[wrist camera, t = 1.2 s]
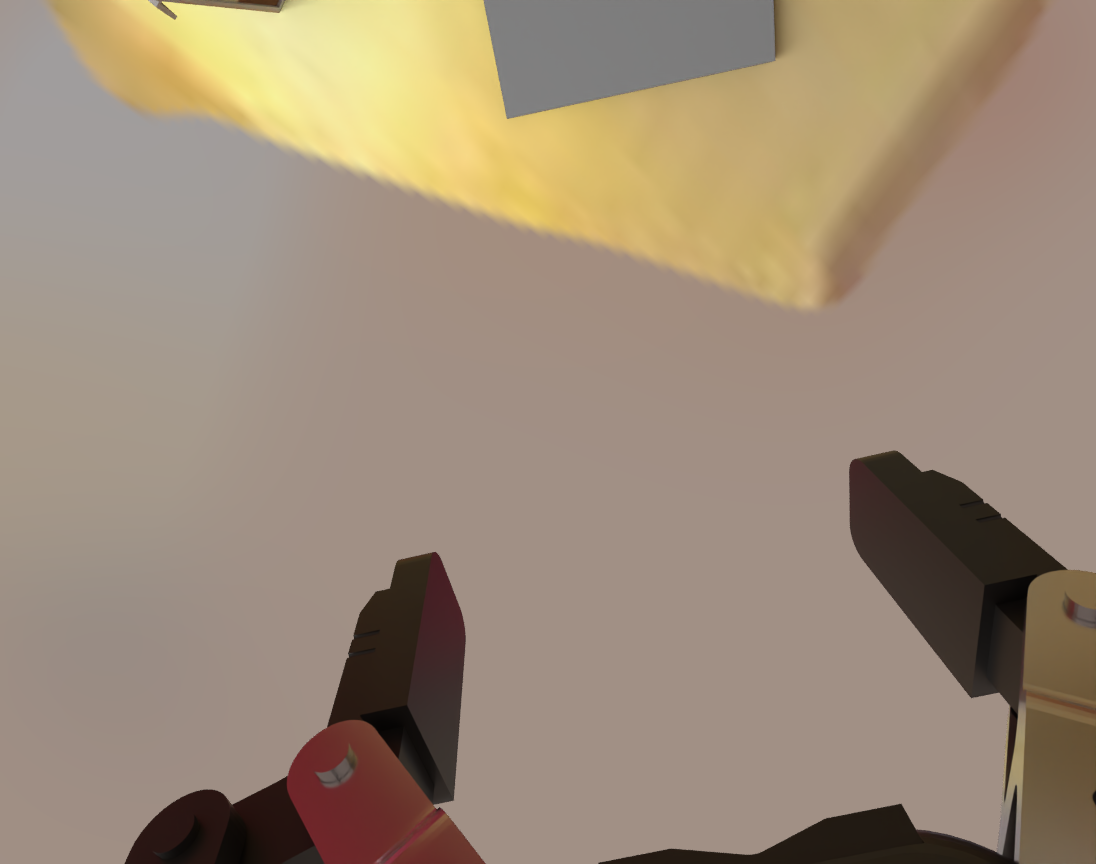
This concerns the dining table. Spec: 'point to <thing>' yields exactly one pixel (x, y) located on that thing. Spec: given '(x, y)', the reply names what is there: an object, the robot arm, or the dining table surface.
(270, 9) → the food container
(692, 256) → the dining table surface
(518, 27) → the grey mat
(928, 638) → the robot arm
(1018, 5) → the dining table surface
